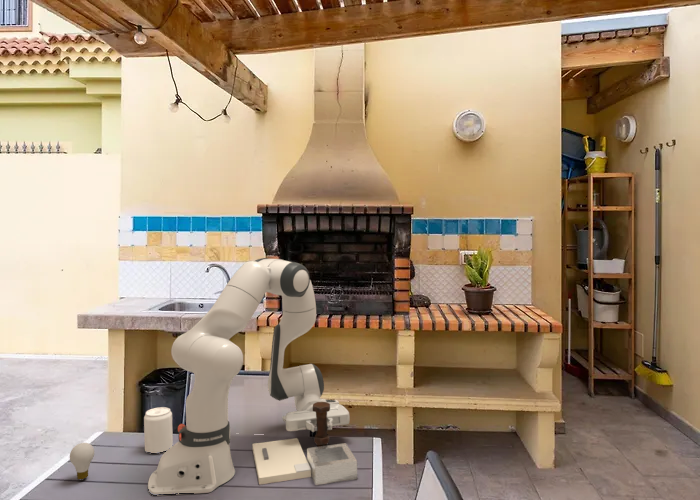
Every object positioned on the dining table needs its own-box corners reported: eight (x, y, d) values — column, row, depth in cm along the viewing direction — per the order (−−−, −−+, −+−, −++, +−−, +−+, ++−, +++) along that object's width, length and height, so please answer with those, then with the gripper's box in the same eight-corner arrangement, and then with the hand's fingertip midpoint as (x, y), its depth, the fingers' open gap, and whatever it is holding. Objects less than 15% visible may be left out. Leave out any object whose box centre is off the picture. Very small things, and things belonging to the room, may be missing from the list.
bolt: (329, 457, 142) (329, 407, 142) (312, 457, 142) (312, 407, 142) (331, 449, 148) (330, 401, 147) (314, 449, 148) (313, 401, 148)
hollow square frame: (315, 485, 126) (315, 466, 126) (307, 465, 137) (307, 448, 137) (357, 478, 130) (357, 460, 129) (345, 459, 141) (345, 443, 140)
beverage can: (142, 456, 144) (142, 417, 144) (146, 445, 152) (145, 408, 152) (171, 453, 146) (170, 414, 146) (173, 442, 154) (173, 405, 154)
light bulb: (99, 477, 132) (98, 441, 132) (78, 487, 127) (77, 450, 126) (87, 472, 135) (86, 437, 135) (65, 481, 130) (64, 445, 129)
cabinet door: (259, 484, 127) (259, 475, 127) (252, 449, 148) (252, 441, 148) (311, 476, 131) (310, 467, 131) (297, 443, 152) (297, 435, 152)
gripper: (281, 406, 154) (287, 421, 141) (342, 399, 160) (354, 414, 147) (281, 425, 155) (288, 443, 141) (342, 418, 160) (354, 434, 147)
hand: (322, 428), depth 144 cm, fingers closed on bolt, 3 cm apart
